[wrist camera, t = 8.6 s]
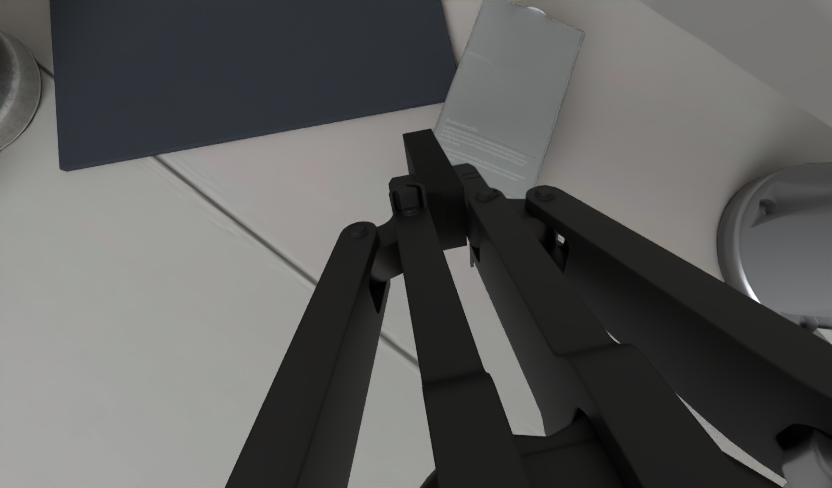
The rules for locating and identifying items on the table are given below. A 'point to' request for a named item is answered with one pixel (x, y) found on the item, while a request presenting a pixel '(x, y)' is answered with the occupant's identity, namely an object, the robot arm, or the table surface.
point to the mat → (234, 69)
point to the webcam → (16, 88)
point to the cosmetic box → (508, 94)
